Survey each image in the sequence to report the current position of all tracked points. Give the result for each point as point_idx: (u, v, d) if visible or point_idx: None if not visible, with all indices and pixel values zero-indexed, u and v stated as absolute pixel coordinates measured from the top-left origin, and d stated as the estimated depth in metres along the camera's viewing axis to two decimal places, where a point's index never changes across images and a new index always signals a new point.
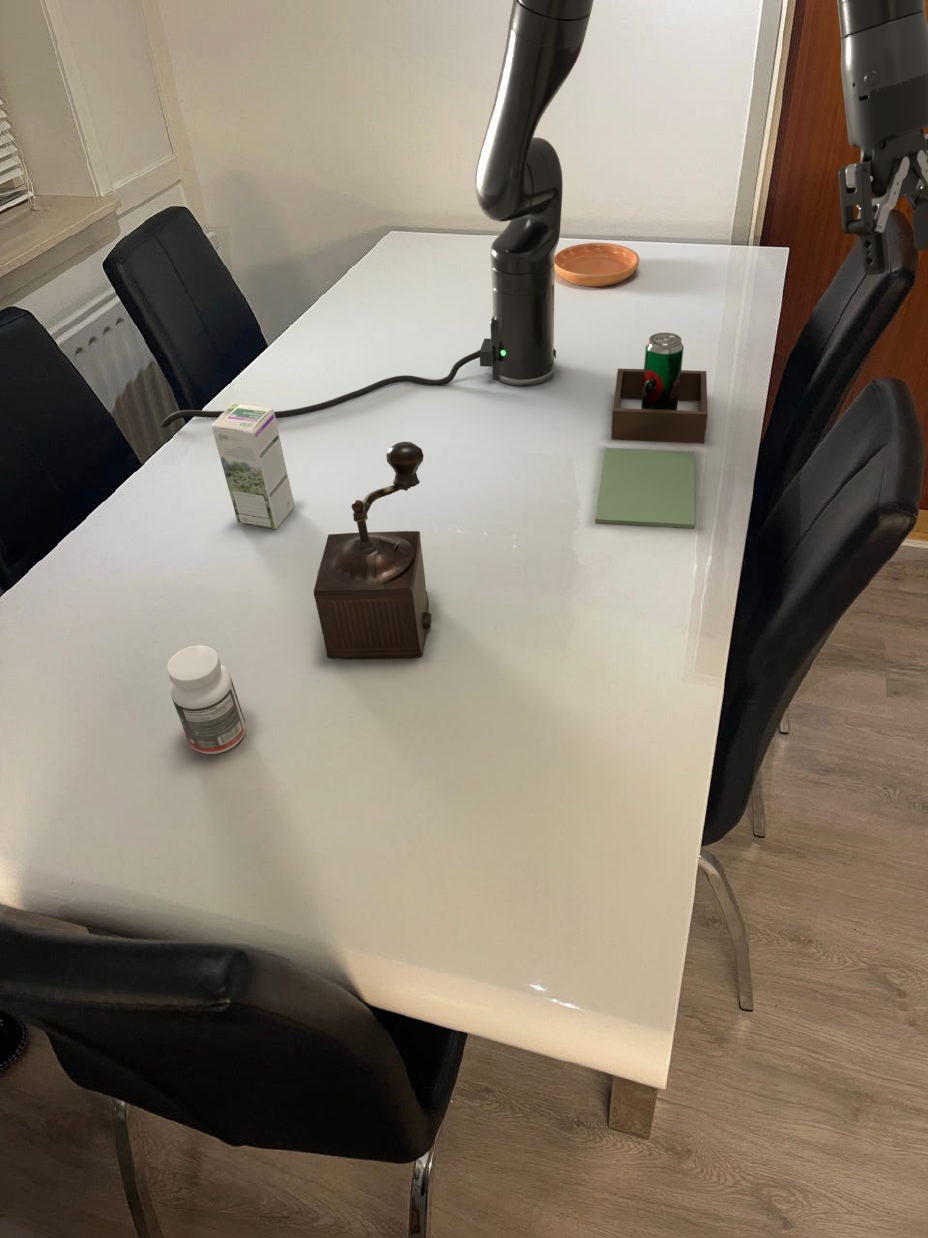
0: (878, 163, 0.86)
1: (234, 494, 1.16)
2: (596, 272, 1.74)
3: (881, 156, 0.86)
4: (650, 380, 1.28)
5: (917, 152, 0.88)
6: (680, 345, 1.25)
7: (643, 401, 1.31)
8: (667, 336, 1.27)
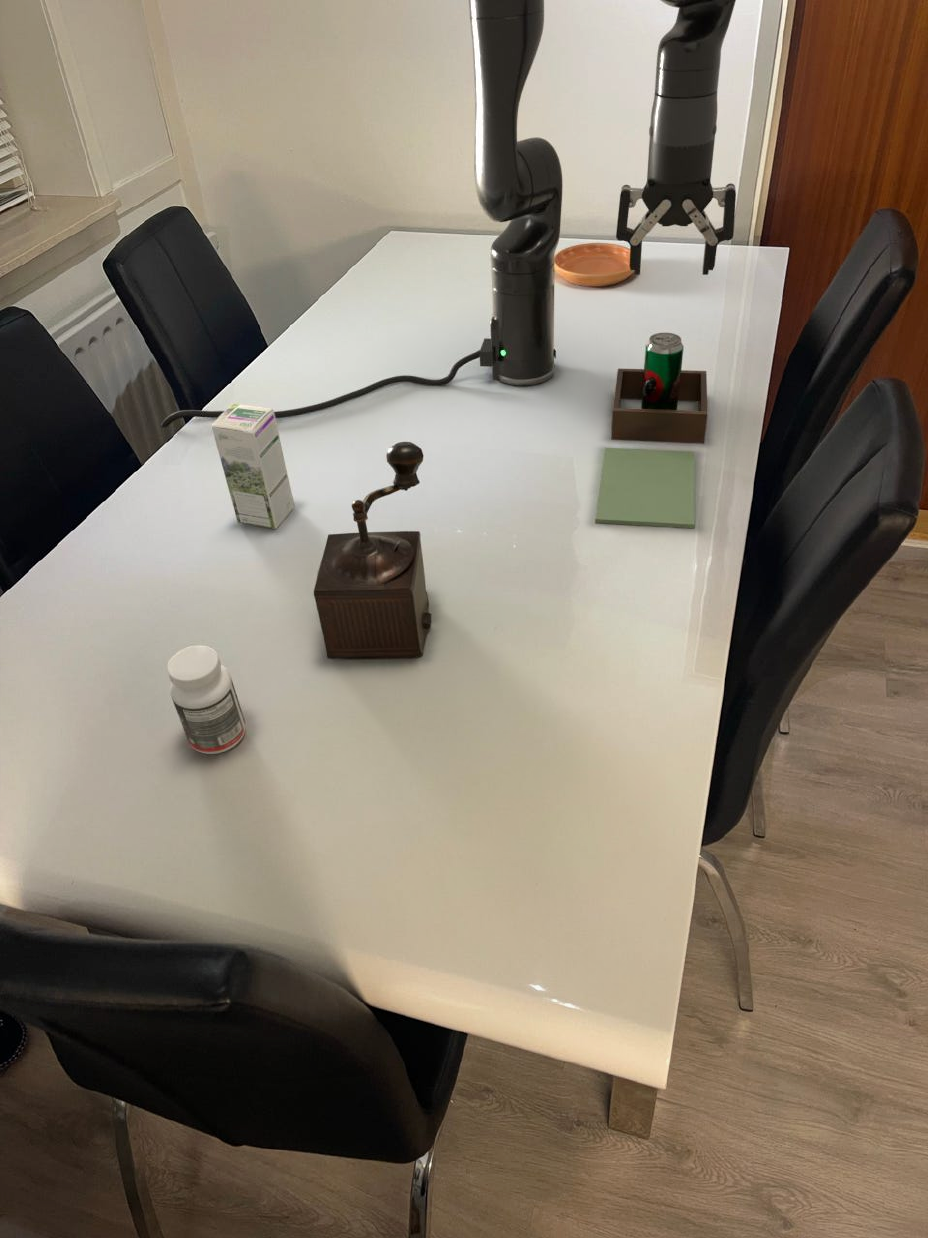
0: (644, 195, 1.14)
1: (234, 494, 1.16)
2: (596, 272, 1.74)
3: (648, 191, 1.13)
4: (650, 380, 1.28)
5: (685, 199, 1.12)
6: (680, 345, 1.25)
7: (643, 401, 1.31)
8: (667, 336, 1.27)
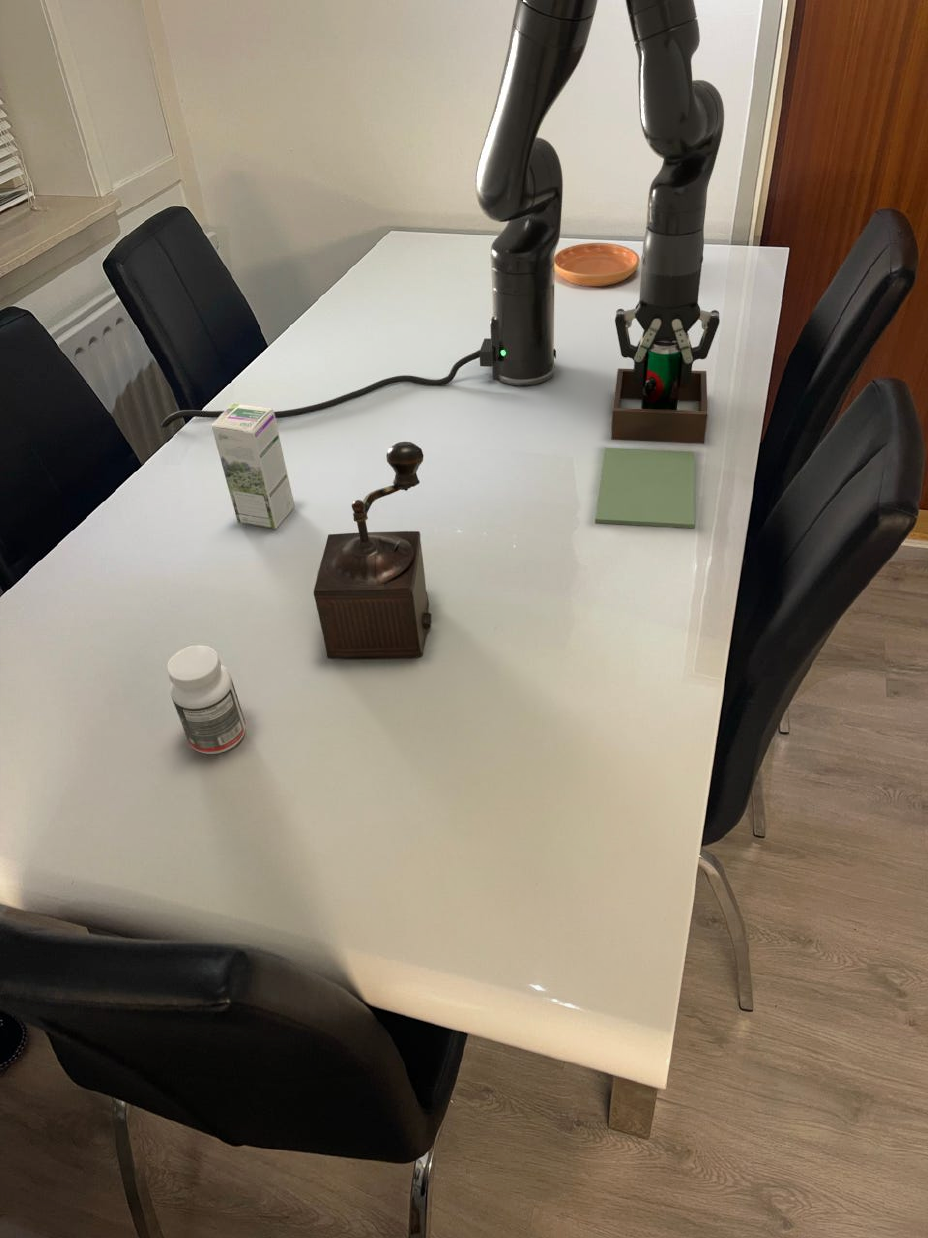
0: (637, 313, 1.23)
1: (234, 494, 1.16)
2: (596, 272, 1.74)
3: (640, 310, 1.23)
4: (650, 380, 1.28)
5: (674, 319, 1.22)
6: None
7: (643, 401, 1.31)
8: None
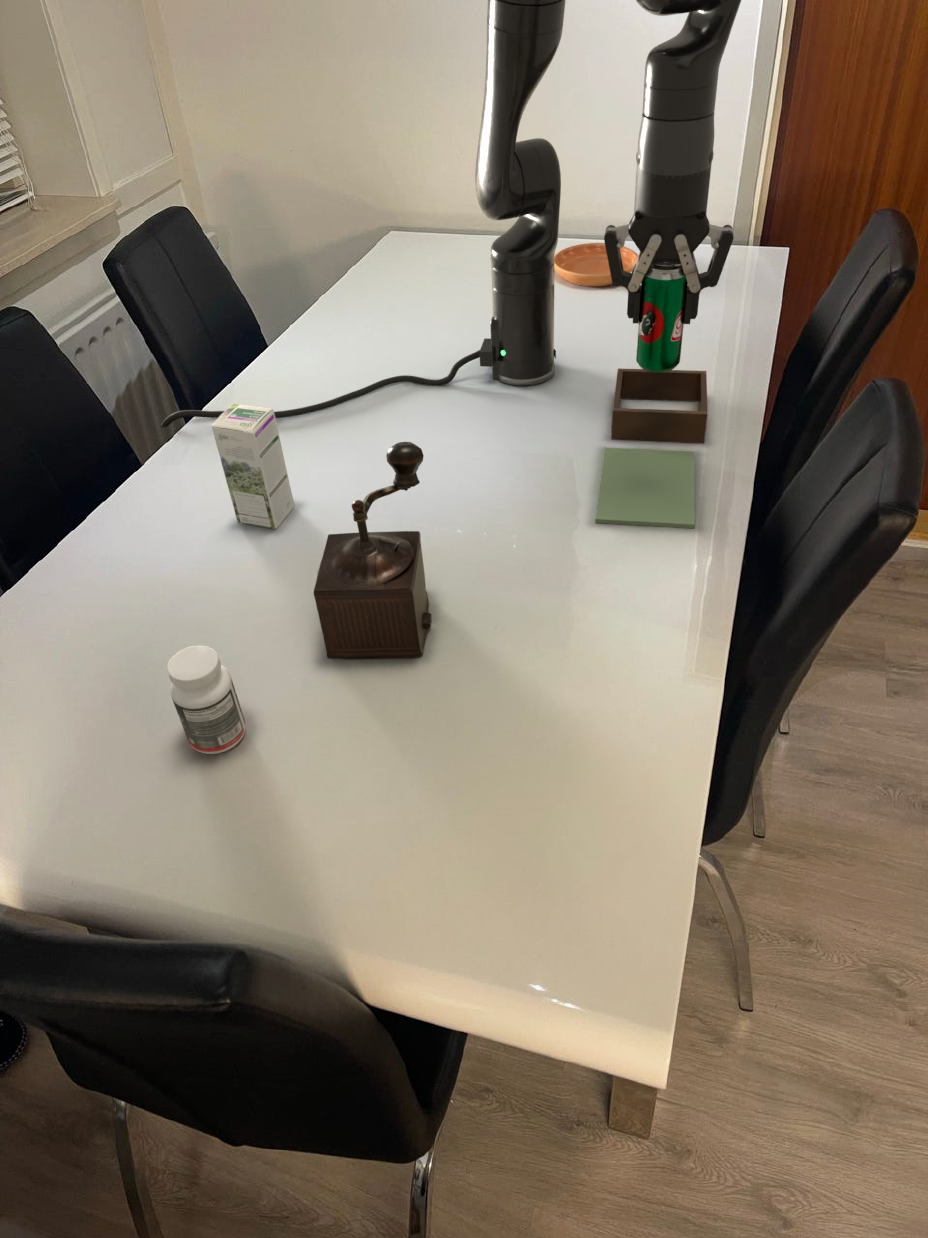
0: (631, 229, 1.00)
1: (234, 494, 1.16)
2: (596, 272, 1.74)
3: (635, 224, 0.99)
4: (648, 314, 1.04)
5: (677, 234, 0.99)
6: None
7: (639, 342, 1.08)
8: None
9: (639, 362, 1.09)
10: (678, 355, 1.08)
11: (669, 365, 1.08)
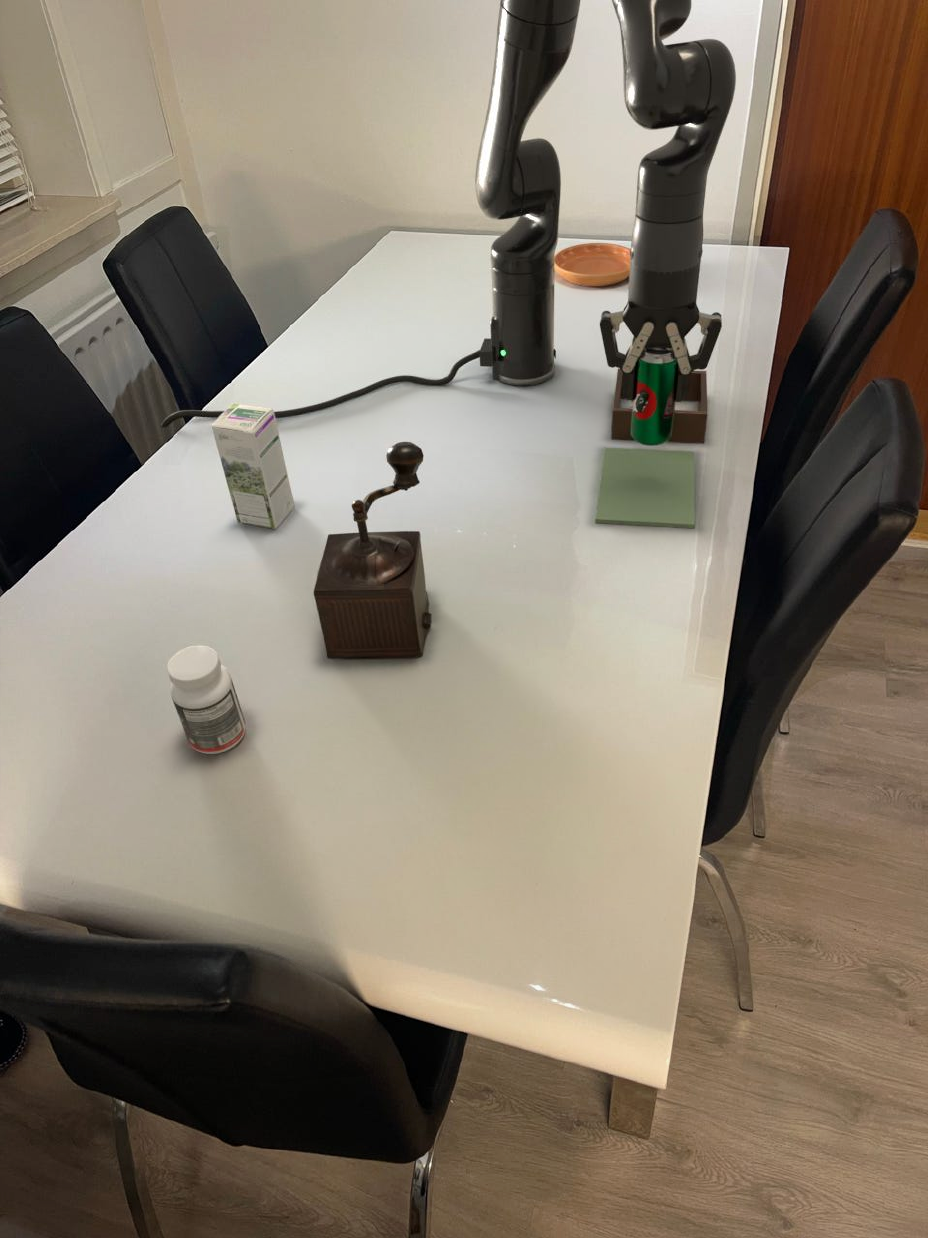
0: (625, 316, 1.06)
1: (234, 494, 1.16)
2: (596, 272, 1.74)
3: (629, 312, 1.05)
4: (642, 393, 1.10)
5: (669, 322, 1.04)
6: None
7: (633, 417, 1.13)
8: None
9: (633, 436, 1.15)
10: (670, 430, 1.13)
11: (662, 439, 1.14)
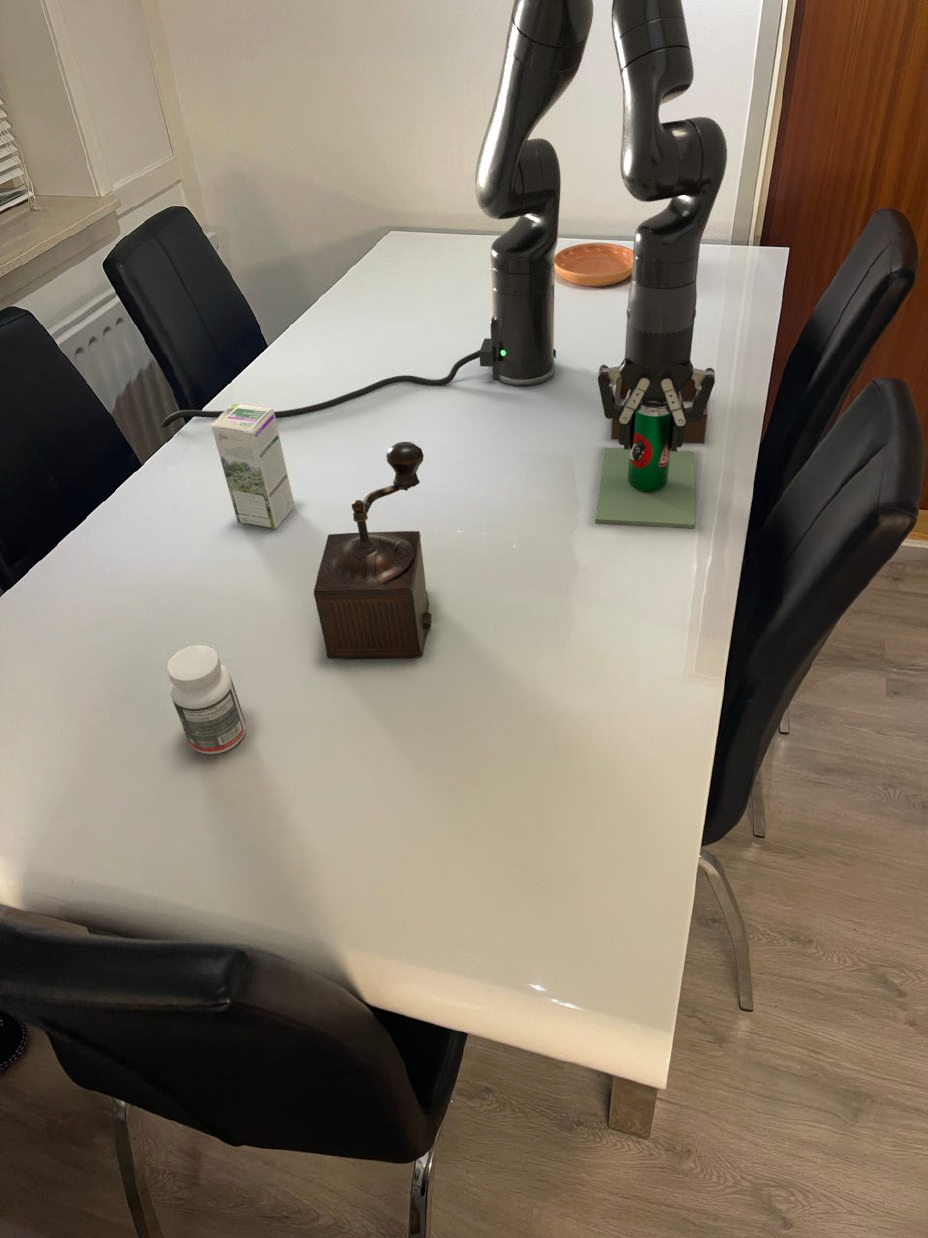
0: (622, 372, 1.10)
1: (234, 494, 1.16)
2: (596, 272, 1.74)
3: (625, 368, 1.09)
4: (638, 444, 1.15)
5: (664, 378, 1.09)
6: None
7: (630, 465, 1.18)
8: None
9: (630, 482, 1.19)
10: (665, 477, 1.18)
11: (657, 486, 1.18)
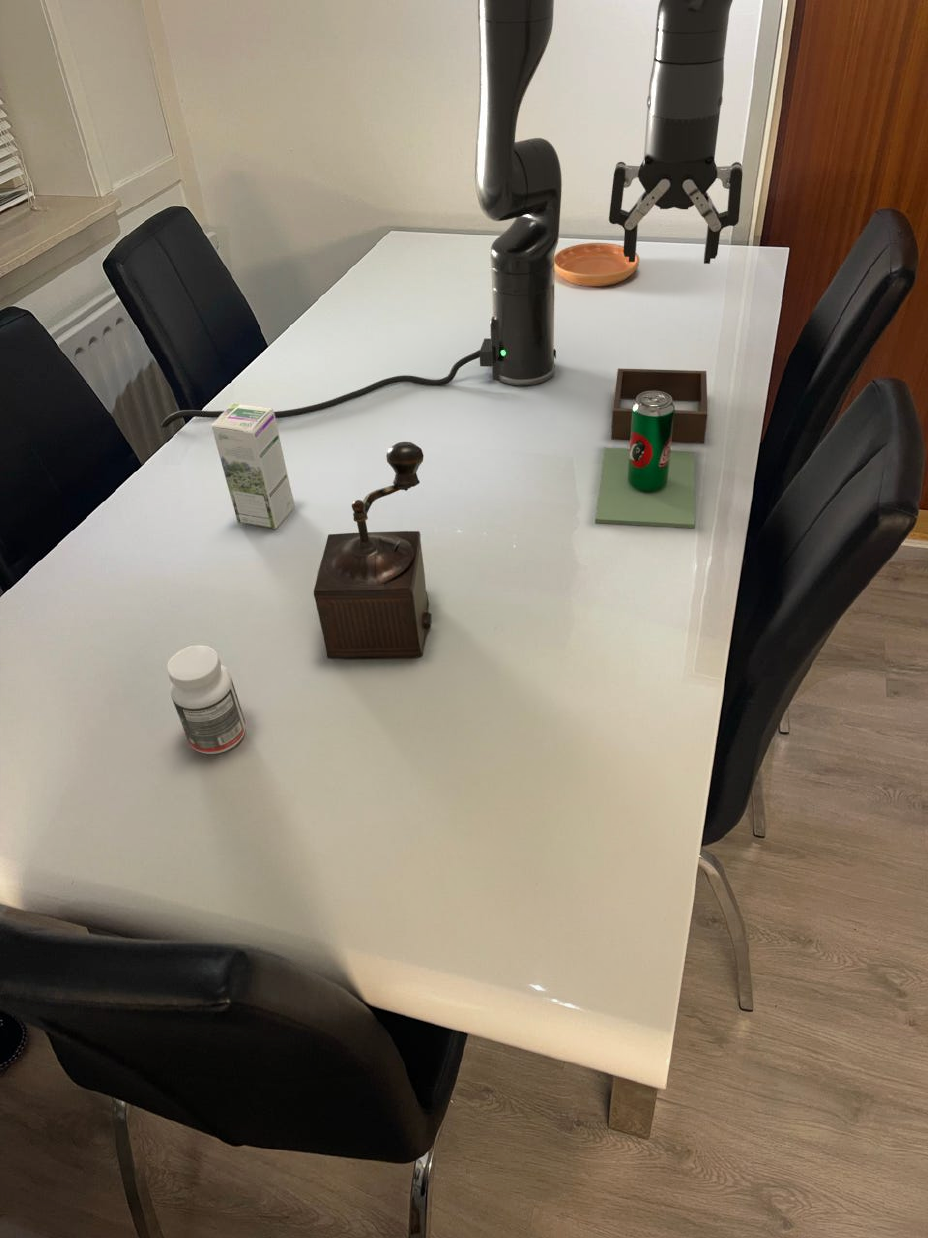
0: (641, 174, 1.02)
1: (234, 494, 1.16)
2: (596, 272, 1.74)
3: (645, 169, 1.02)
4: (638, 444, 1.15)
5: (686, 179, 1.01)
6: (671, 406, 1.12)
7: (630, 465, 1.18)
8: (656, 395, 1.13)
9: (630, 482, 1.19)
10: (665, 477, 1.18)
11: (657, 486, 1.18)
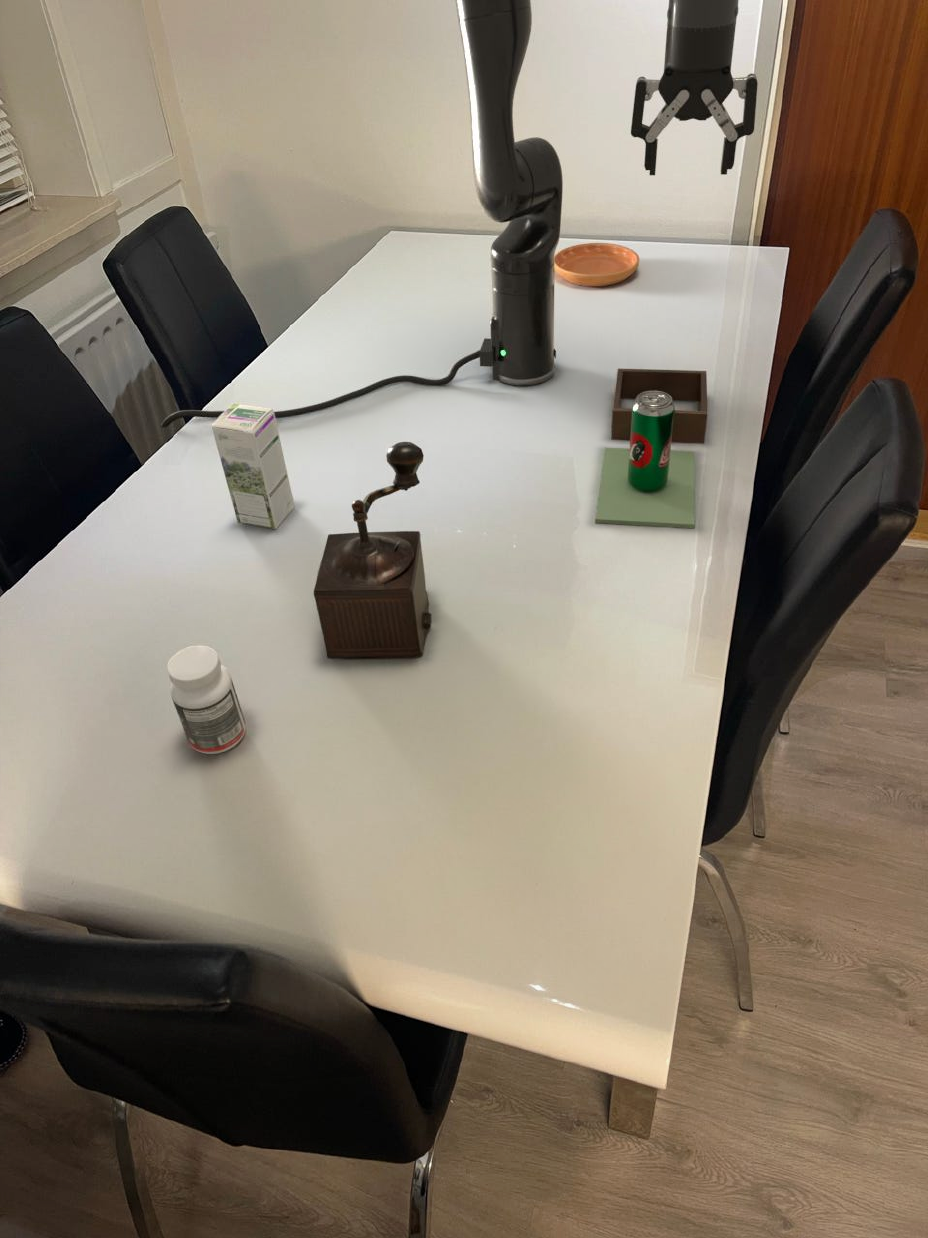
0: (661, 86, 1.08)
1: (234, 494, 1.16)
2: (596, 272, 1.74)
3: (665, 81, 1.08)
4: (638, 444, 1.15)
5: (704, 89, 1.07)
6: (671, 406, 1.12)
7: (630, 465, 1.18)
8: (656, 395, 1.13)
9: (630, 482, 1.19)
10: (665, 477, 1.18)
11: (657, 486, 1.18)
